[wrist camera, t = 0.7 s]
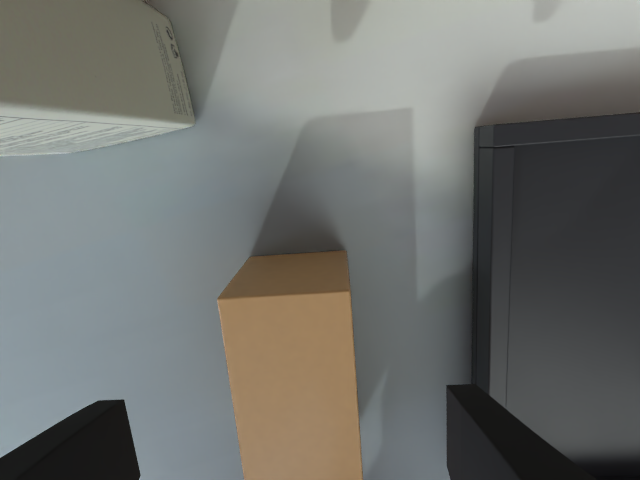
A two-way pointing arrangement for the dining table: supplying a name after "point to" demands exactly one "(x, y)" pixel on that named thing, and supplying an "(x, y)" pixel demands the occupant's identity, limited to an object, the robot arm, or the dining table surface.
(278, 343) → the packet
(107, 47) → the cosmetic box
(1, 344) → the dining table surface
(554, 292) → the tray
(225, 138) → the dining table surface
